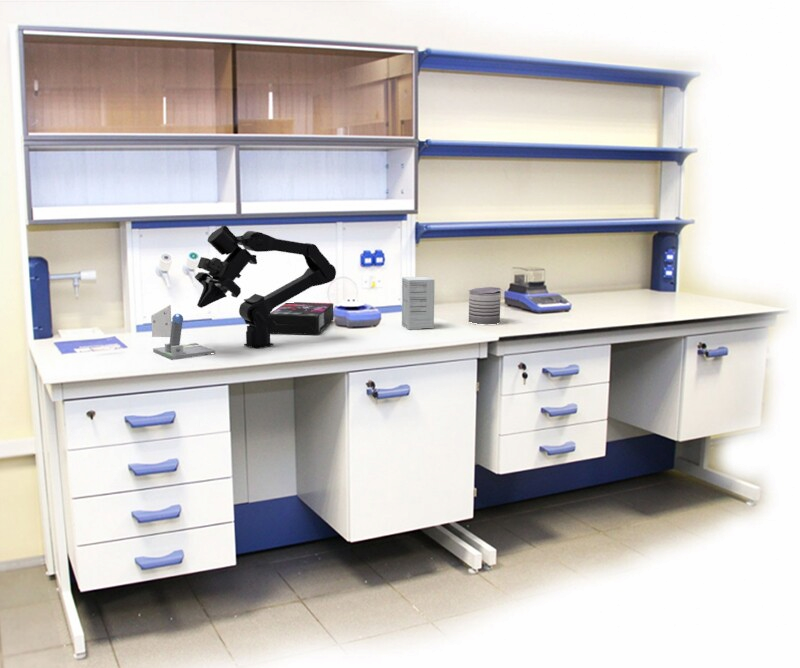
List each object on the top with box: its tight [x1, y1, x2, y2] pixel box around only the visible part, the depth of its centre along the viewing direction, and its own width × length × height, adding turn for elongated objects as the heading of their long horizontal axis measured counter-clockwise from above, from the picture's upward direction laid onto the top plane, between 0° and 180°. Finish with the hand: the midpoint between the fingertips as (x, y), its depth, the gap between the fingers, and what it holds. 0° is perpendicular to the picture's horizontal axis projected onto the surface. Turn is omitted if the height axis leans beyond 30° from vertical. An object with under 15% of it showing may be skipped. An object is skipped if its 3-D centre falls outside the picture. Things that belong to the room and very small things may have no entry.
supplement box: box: [401, 276, 435, 330], centre depth 287 cm, size 10×9×17 cm
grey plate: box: [150, 304, 172, 338], centre depth 269 cm, size 4×10×9 cm, turn 92°
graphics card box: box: [268, 301, 335, 336], centre depth 286 cm, size 17×7×27 cm
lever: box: [168, 313, 184, 350], centre depth 238 cm, size 3×3×10 cm
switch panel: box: [152, 342, 216, 360], centre depth 244 cm, size 13×13×4 cm
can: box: [468, 286, 502, 325], centre depth 298 cm, size 11×11×12 cm
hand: (199, 306), depth 242 cm, fingers closed
